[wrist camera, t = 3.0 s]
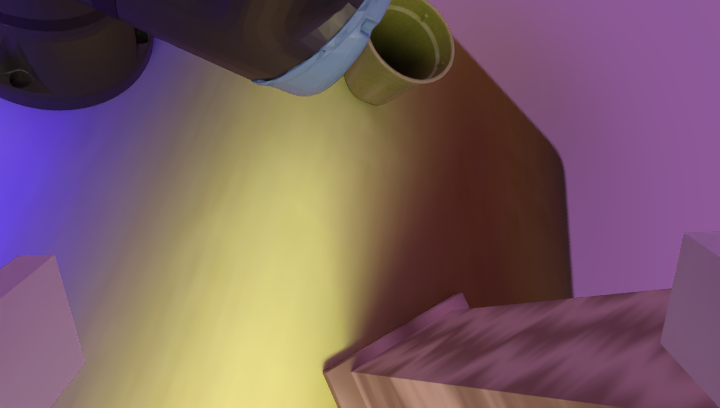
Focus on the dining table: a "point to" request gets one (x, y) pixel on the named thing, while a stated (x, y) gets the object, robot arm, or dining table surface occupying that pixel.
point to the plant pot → (402, 52)
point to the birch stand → (523, 358)
